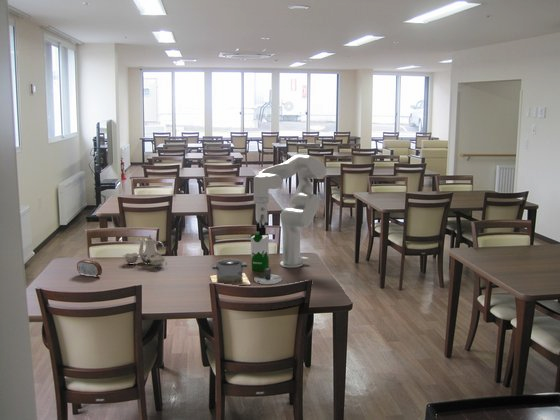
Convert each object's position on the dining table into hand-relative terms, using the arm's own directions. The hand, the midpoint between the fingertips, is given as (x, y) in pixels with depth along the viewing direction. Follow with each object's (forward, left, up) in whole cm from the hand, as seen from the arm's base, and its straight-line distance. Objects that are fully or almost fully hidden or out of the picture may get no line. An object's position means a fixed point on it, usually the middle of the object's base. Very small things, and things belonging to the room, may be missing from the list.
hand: (260, 233), depth 293 cm
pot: (+17, +2, -23) cm, 29 cm away
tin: (+87, -25, -24) cm, 93 cm away
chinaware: (+57, -40, -24) cm, 74 cm away
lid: (-2, +5, -24) cm, 24 cm away
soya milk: (-2, -15, -23) cm, 28 cm away
